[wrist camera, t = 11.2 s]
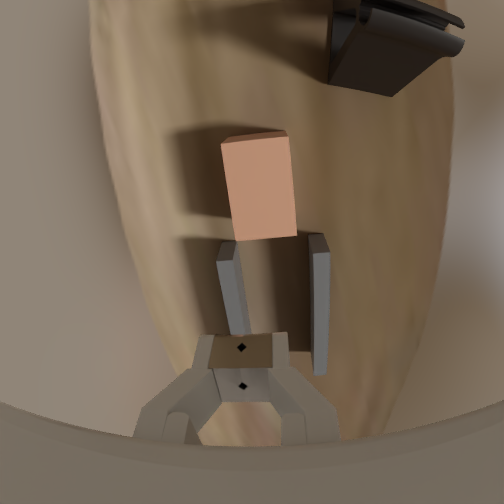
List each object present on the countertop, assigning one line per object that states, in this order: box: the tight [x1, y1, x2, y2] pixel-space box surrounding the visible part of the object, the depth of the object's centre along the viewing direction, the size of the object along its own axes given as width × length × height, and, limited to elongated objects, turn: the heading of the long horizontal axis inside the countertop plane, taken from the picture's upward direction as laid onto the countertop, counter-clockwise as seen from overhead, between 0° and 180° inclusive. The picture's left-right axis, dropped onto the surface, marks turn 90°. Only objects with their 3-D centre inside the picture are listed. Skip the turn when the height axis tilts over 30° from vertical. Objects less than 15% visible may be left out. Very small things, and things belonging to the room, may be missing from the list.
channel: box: [216, 234, 330, 376], centre depth 33 cm, size 16×10×4 cm, turn 7°
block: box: [221, 131, 297, 241], centre depth 26 cm, size 8×5×5 cm, turn 7°
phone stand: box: [328, 0, 465, 97], centre depth 17 cm, size 9×6×12 cm, turn 176°
